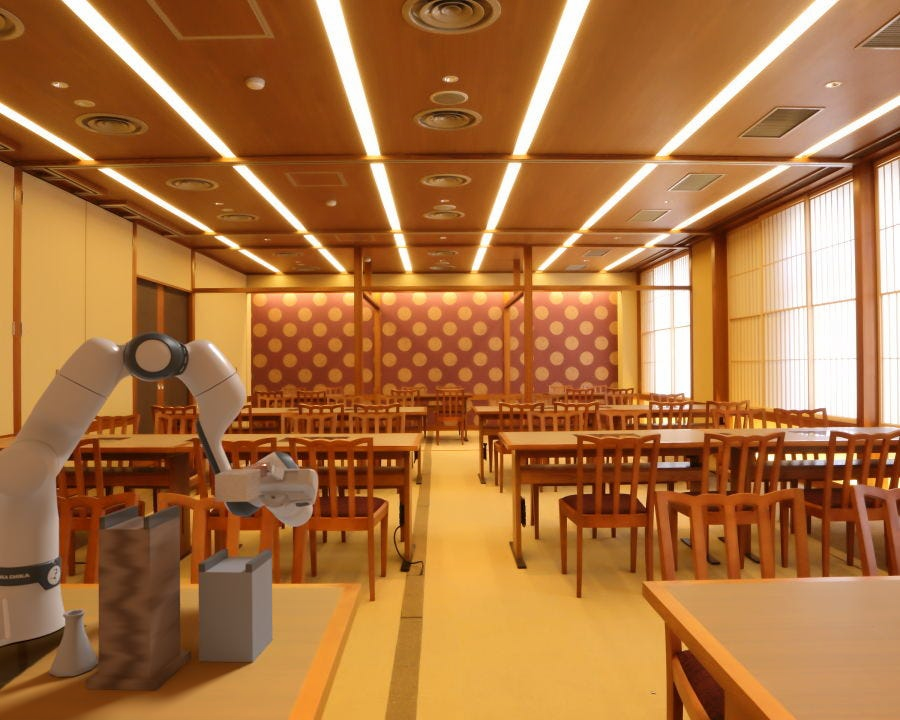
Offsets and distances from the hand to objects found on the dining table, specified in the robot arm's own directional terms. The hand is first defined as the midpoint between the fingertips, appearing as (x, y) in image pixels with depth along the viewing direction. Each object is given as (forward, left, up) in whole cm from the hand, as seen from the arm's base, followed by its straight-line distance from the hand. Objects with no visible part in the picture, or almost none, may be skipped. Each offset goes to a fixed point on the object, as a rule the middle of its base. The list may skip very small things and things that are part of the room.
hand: (259, 467), depth 134 cm
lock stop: (0, -6, -4) cm, 7 cm away
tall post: (-13, -22, -32) cm, 41 cm away
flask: (-26, -21, -33) cm, 47 cm away
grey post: (0, -12, -32) cm, 35 cm away
